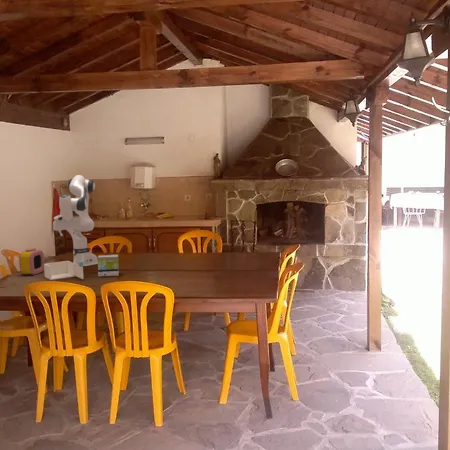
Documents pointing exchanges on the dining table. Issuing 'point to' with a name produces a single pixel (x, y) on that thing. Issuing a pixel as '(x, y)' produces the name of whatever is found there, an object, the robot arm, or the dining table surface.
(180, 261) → the dining table surface
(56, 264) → the carton
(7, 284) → the dining table surface
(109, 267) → the tea box
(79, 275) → the lid flap
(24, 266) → the alarm clock
